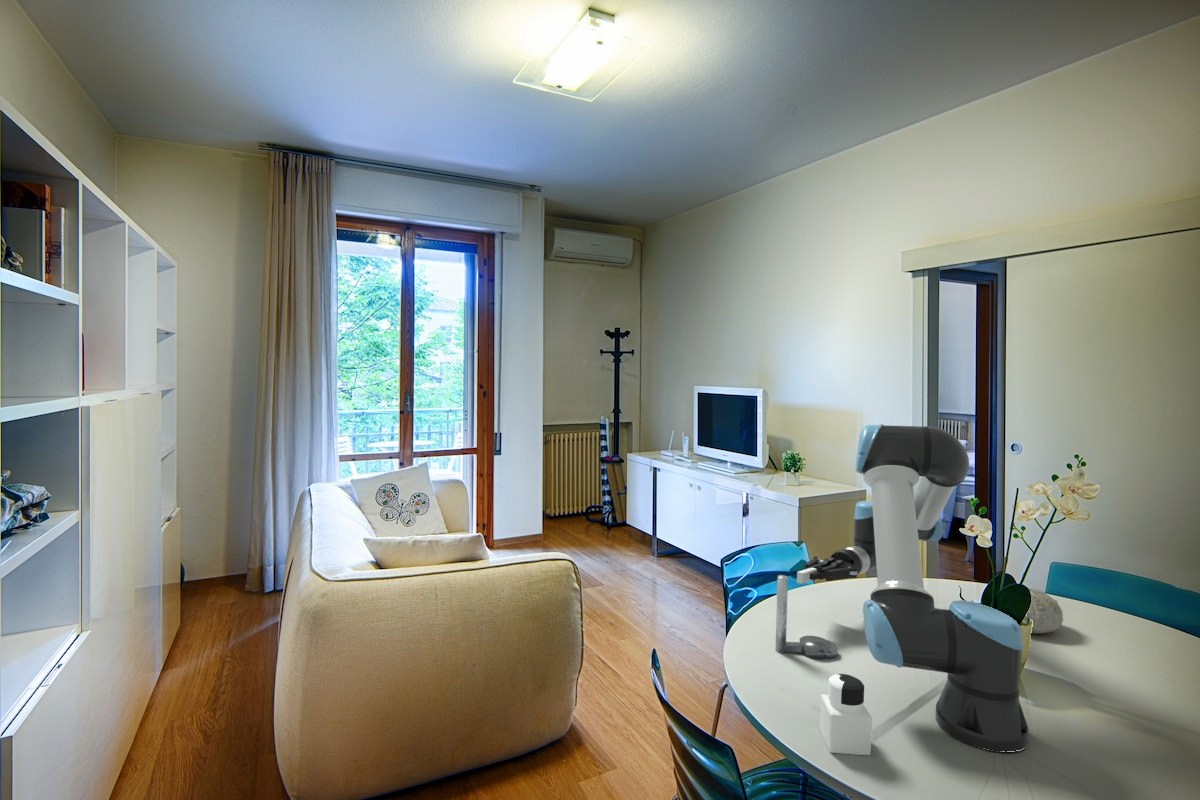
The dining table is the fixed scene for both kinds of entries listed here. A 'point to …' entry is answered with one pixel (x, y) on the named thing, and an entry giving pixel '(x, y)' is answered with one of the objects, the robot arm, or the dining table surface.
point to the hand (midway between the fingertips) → (799, 577)
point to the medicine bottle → (845, 717)
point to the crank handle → (807, 644)
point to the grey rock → (1044, 612)
